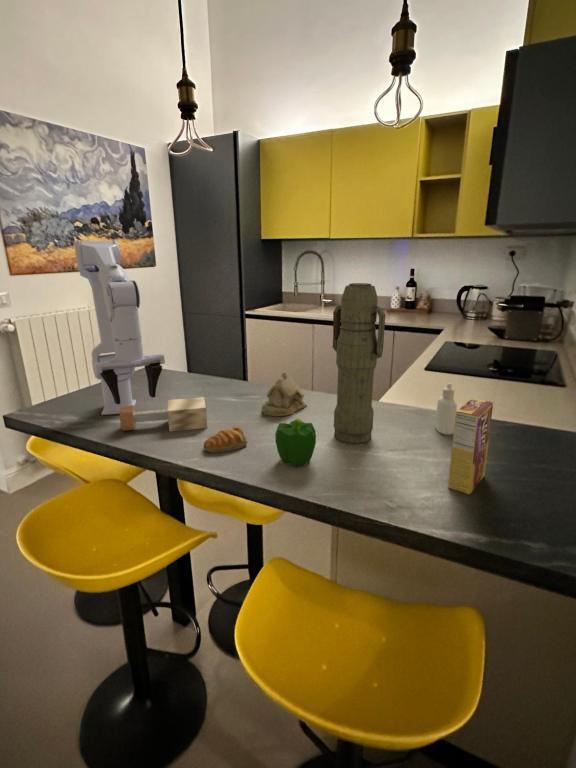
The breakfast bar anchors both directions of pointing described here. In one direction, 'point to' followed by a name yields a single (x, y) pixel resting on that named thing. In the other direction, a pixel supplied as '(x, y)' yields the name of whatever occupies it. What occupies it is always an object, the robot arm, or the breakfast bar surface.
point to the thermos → (356, 361)
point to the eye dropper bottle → (446, 412)
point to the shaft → (139, 416)
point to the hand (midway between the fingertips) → (135, 399)
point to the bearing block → (187, 414)
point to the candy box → (470, 445)
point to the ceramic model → (284, 397)
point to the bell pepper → (295, 442)
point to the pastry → (226, 440)
